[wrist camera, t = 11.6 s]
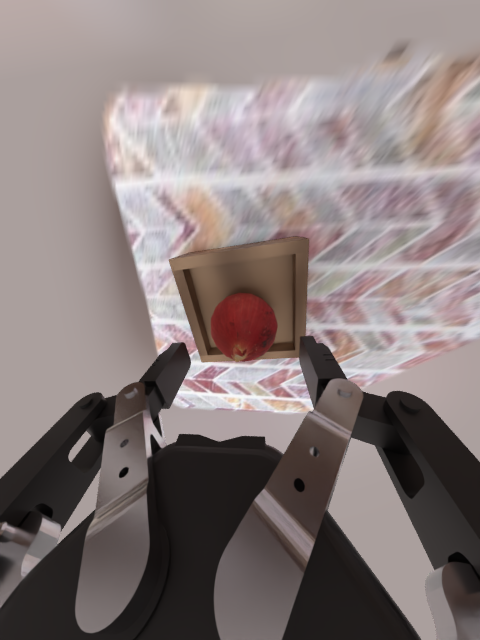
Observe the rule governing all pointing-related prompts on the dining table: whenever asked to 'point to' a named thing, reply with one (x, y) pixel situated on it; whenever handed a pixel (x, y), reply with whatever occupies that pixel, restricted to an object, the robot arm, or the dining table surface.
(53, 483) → the robot arm
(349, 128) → the dining table surface
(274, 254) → the brown wooden tray
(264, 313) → the pomegranate
